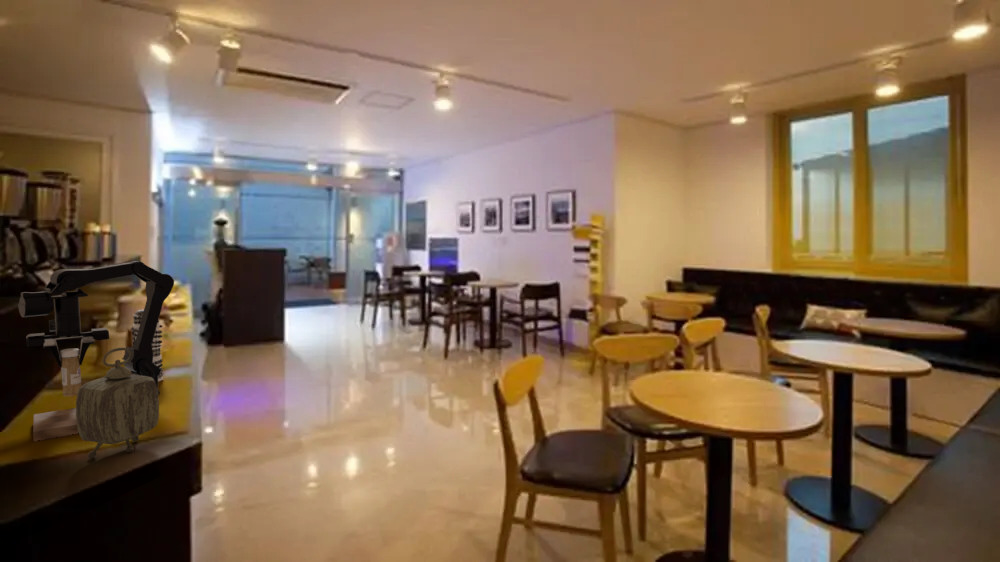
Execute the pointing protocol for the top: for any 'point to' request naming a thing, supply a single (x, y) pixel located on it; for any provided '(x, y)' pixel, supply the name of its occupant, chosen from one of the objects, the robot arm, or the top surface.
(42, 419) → the wooden board
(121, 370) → the tabletop clock
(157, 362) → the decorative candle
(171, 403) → the top surface
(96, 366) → the top surface
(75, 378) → the sprinkles bottle
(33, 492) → the top surface
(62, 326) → the robot arm
